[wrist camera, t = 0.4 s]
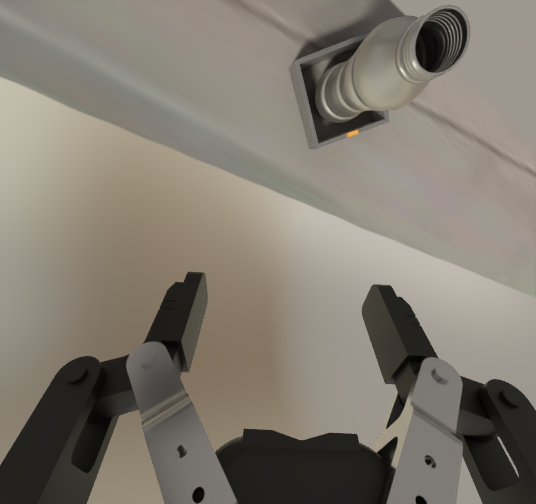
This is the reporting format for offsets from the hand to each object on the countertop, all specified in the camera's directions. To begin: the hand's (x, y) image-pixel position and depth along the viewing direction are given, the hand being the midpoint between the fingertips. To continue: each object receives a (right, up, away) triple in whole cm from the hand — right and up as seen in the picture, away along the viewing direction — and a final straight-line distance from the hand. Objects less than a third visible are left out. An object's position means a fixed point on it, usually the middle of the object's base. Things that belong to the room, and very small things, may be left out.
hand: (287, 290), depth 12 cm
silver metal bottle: (+8, +23, +22) cm, 33 cm away
